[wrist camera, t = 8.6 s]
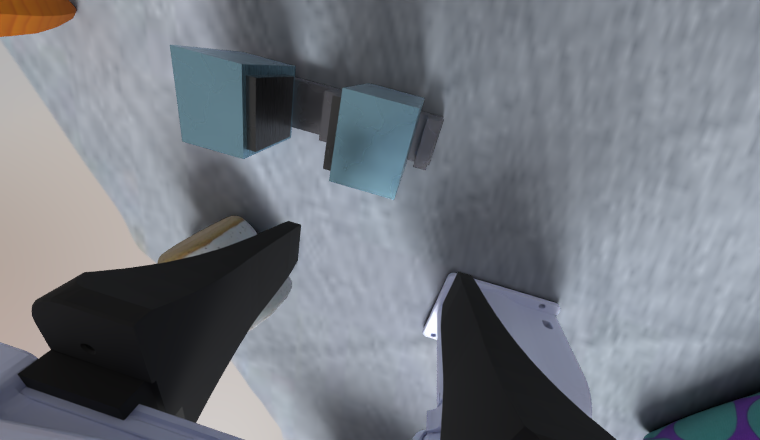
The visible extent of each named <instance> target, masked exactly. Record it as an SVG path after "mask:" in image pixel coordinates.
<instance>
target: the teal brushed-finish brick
mask: <svg viewBox="0 0 760 440" xmlns="http://www.w3.org/2000/svg"><path fill="white" fill-rule="evenodd" d="M424 99H425V98H423V97H419V96H415V95H411V94H408V93H404V92H400V91H397V90H393V89H389V88H385V87H382V86H378V85H374V84H371V83H367V84H362V85H356V86H350V87H344V88H343V89H342V93H340V94H336V95H333V96H332V104H331V112H330V119H329V127H328V135H327V143H326V150H325V158H324V166H323V169H326V170H330V171H331V172H330V179H329V181H331V182H334V183H338V184H341V185H344V186H348V187H351V188H355V189H358V190H362V191H365V192H369V193H372V194H376V195H379V196H383V197H386V198H389V199H393V200H394V198H395V196H396V193H397V190H398V187H399V184H400V181H401V178H402V175H403V172H404V169H405V166H406V162H407V159H408V155H409V152H410V148H411V145H412V141H413V138H414V134H415V131H416V127H417V124H418V120H419V117H420V113H421V110H422V106H423V103H424Z"/></svg>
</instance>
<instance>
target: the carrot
mask: <svg viewBox="0 0 760 440" xmlns="http://www.w3.org/2000/svg"><path fill="white" fill-rule="evenodd" d="M76 11H77V10H76V8H75V7H74V6H73V4H72V3H71V2H70V1H69V0H0V37H4V36H15V35H24V34H33V33H39V32H42V31H46V30H49V29H52V28H55V27H58V26H60V25H62V24H63V23H65V22H67V21H69V20H71V19H73V17H74V15H75V13H76Z"/></svg>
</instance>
